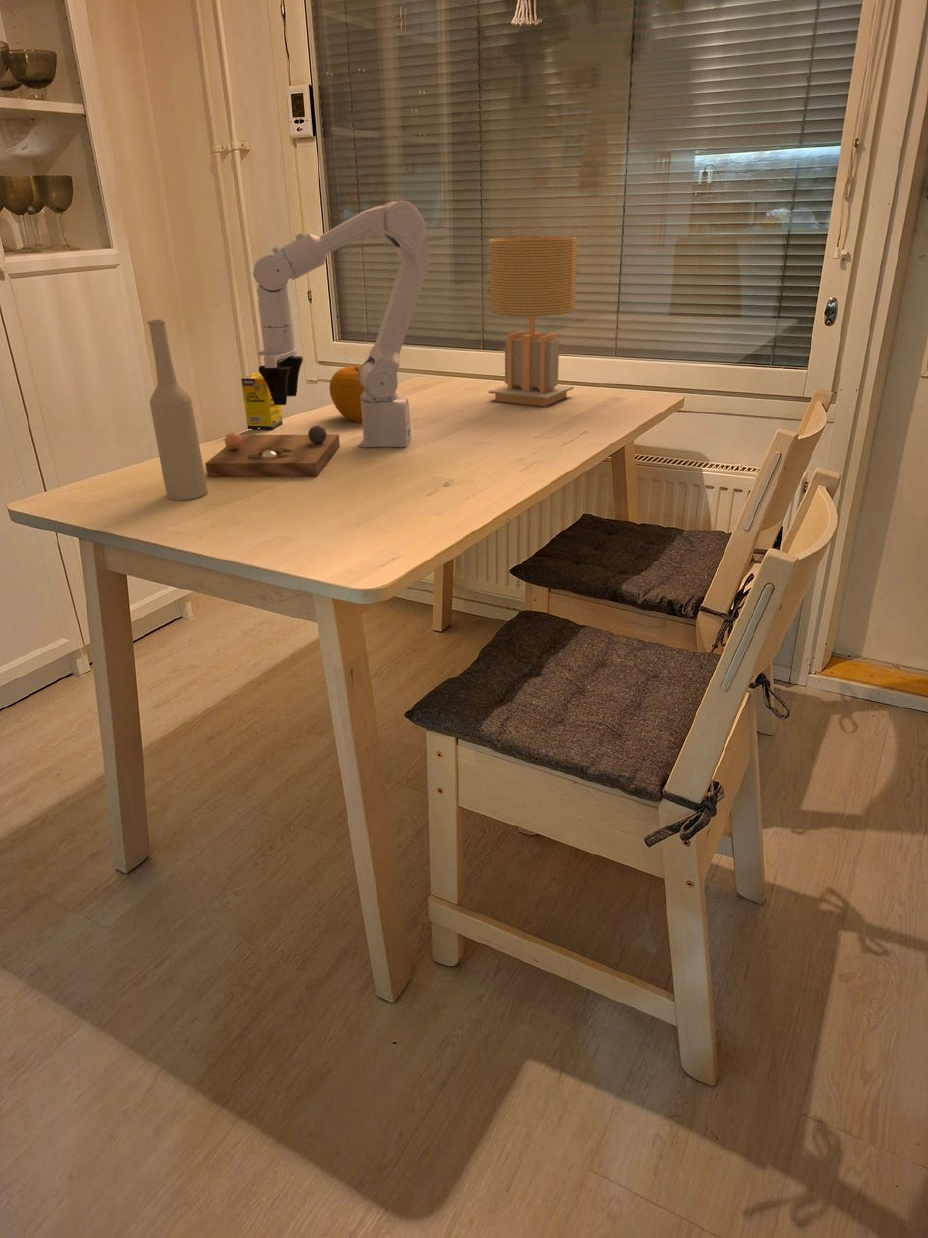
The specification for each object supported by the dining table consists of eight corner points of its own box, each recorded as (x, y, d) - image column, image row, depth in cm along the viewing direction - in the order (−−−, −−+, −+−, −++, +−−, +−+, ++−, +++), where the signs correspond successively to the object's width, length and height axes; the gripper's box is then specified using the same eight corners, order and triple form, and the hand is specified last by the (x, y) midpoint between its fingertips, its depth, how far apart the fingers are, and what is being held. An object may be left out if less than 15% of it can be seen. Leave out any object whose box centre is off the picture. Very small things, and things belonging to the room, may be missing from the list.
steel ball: (278, 471, 155) (281, 459, 157) (274, 458, 152) (278, 446, 154) (261, 471, 155) (264, 459, 157) (257, 458, 153) (260, 446, 155)
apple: (321, 423, 186) (316, 370, 180) (350, 410, 196) (346, 359, 191) (373, 427, 181) (369, 372, 176) (399, 413, 192) (396, 362, 187)
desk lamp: (585, 394, 205) (591, 236, 190) (548, 411, 191) (552, 241, 175) (515, 387, 215) (516, 236, 199) (475, 402, 200) (472, 240, 184)
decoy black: (328, 441, 162) (327, 423, 160) (325, 445, 159) (323, 428, 157) (311, 441, 162) (309, 423, 160) (307, 446, 159) (305, 428, 157)
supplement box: (273, 430, 181) (266, 378, 176) (247, 429, 182) (239, 378, 177) (283, 423, 186) (277, 373, 181) (258, 423, 187) (251, 372, 182)
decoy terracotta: (245, 447, 159) (243, 430, 158) (240, 451, 156) (238, 434, 155) (229, 447, 159) (226, 430, 158) (223, 451, 156) (221, 434, 155)
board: (339, 446, 167) (338, 434, 166) (317, 476, 150) (315, 462, 148) (241, 447, 169) (240, 434, 168) (207, 476, 151) (205, 463, 150)
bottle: (185, 503, 138) (153, 324, 125) (158, 497, 141) (124, 321, 129) (215, 491, 143) (187, 318, 130) (189, 486, 146) (159, 316, 134)
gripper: (266, 320, 162) (275, 392, 168) (243, 331, 149) (254, 408, 155) (302, 320, 161) (310, 392, 167) (282, 331, 148) (291, 408, 154)
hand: (285, 400), depth 161 cm, fingers open, 7 cm apart
